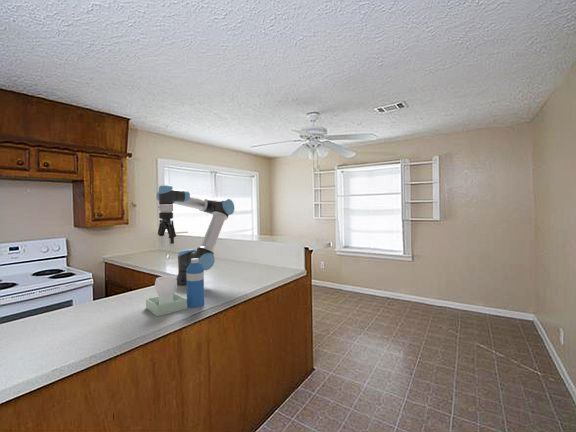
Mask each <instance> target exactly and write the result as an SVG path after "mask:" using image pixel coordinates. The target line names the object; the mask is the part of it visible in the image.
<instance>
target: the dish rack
mask: <svg viewBox="0 0 576 432" xmlns="http://www.w3.org/2000/svg"><path fill="white" fill-rule="evenodd" d="M173 300H174V302H171V303H166V304H162V305H159V296H158V295H157V296H153V297H148V298H146V299H145V309H146V310H148V311H149V312H151V313H152V314H153V315H154V316H156V317H160V316H164V315H167V314H171V313H175V312H179V311H182V310H186V309H188V307H187V297H184V296H182V295H180V294H178V293H177V292H175V293H174V297H173Z"/></svg>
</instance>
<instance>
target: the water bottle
mask: <svg viewBox="0 0 576 432" xmlns="http://www.w3.org/2000/svg"><path fill="white" fill-rule="evenodd" d="M186 274H187V285H186V299H187V308H188V307H189V308H193V309H194V308H199V307H202V306H203V305H205V286H204V285H205V281H204V280H205V279H204V278H205V276H204V275H205V270H204V269H203V267H202V266H201V264H200V263H199V258H192V259H191V263H190V265H189V266H188V267H187V269H186Z"/></svg>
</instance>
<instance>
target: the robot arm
mask: <svg viewBox="0 0 576 432" xmlns="http://www.w3.org/2000/svg"><path fill="white" fill-rule="evenodd" d="M155 198H156V200H157V201H158V211H159V213H158V218H159V223H158V231H157V235H158V236H159V239H158V240H159V248H163V247H164V248H165V244H166V243H165V242H166V241H165V232H166V231H167V235H168V250H169V251H170V250H175V238H176V237H177V235H176V229H175V225H174V220H171V219H173V218H174V213H173V212H174V205H177V206H182V207H183V206H184V207H188V208H192V209H196V210H197V209H198V210H199V211H200V212H204V213H207V214H211V215H212V217H211V220H210V223H209V225H208V228H207V230H206V233H204V234H205V235H204V237H203V240H202V242H201V244H200V246H197V247H196V248H197V249H196V248H190V249H183V250H182V249H181V250H179V251H178V253H177V262H178V265H177V267H178V268H177V269H178V270H177V271H178V273H177V276H176V280H177V286H183V287H184V286H187V274H186V269H187V267H188V266H189V265H190V263H191V259H192V258H199V263H200V264H201V266H202V267H203V269H204V272H205V271H208V270H210V269H212V268H213V266H214V264H215V260H216V259H215V253H214V249H215V245H216V243H217V241H218V238H219V236H220V233H221V230H222V228H223V225H224V224H225V221H226V220H228V218H229V216H230V215H233V214H234V213H235V204H234V202H233V200H232V199H230V198H205V197H203V198H198V197H194V196H191V194H190V191H189V190H186V189H174V188H173V186H172V185H167V184H166V185H165V184H164V185H163V184H162V185H159V186H158V191H157V192H156V197H155Z"/></svg>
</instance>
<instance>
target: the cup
mask: <svg viewBox="0 0 576 432" xmlns="http://www.w3.org/2000/svg"><path fill="white" fill-rule="evenodd" d="M176 278H177V276H174V275H164V276H163V275H162V276H159V277H157V278H156V279H155V281H154V289H155V292H156V293H157V296H159V305H162V304H166V303H171V302H174V300H173V297H174V293H176V290H177V287H178V285H177V280H176Z"/></svg>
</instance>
